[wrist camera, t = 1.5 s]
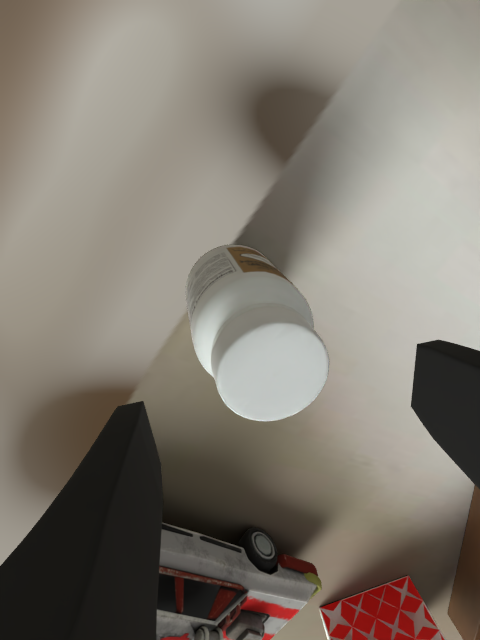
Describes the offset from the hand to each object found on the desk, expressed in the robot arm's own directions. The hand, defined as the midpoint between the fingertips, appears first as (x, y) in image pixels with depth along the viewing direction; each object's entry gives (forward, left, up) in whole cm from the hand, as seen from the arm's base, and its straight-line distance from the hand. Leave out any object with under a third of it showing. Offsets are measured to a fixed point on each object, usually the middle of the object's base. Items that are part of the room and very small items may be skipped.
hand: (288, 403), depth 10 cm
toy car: (+6, +17, -9) cm, 20 cm away
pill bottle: (0, 0, -9) cm, 9 cm away
